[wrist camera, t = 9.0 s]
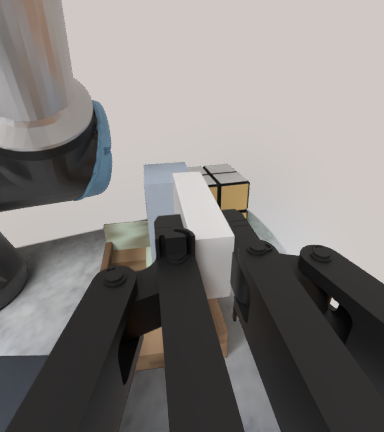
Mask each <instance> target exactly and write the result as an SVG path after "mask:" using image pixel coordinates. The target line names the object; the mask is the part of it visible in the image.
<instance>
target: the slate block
mask: <svg viewBox="0 0 384 432" xmlns="http://www.w3.org/2000/svg"><path fill="white" fill-rule="evenodd" d="M182 172H189V171H188V169H187V167H186V164H185V162H180V163H164V164H148V165H144V189H145V199H146V209H147V219H148V228H149V238H150V247H151V257H152V263H153V262H154V261H155V259H156V249H155V231H154V221H155V220H156V218H157V217H158V216H162V215H174V198H173V176H172V173H182Z"/></svg>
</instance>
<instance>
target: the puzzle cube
mask: <svg viewBox="0 0 384 432" xmlns="http://www.w3.org/2000/svg"><path fill="white" fill-rule="evenodd" d="M187 169H188V171H189V172H198V171H200V172H201V174H202V176H203V178H204V180H205V181H206V183H207V185H208V187H209V189H210V191H211V193H212V195H213V196H214V198H215V200H216V202H217V204H218V206H219V208H220V210H227V209H236V210H237V211H239V212H241V213H242V214H243V215H244V217H245V218H246V220H247V213H248V211H247V210H246V209H247V208H248V197H249V184H250V182H248V181H247V180H246V179H245V178H244V177H243V176H241V175H240V174H239V173H238V172H237V171H235V170H234V169H233V168H232V167H231V166H229V165H228V164H221V165H210V166H204V167H203V168H202V167H201V166H199V167H188V168H187Z"/></svg>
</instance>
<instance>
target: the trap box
mask: <svg viewBox="0 0 384 432" xmlns="http://www.w3.org/2000/svg"><path fill="white" fill-rule="evenodd" d="M104 233H105V238H106V246H105V250H104V255H103V260H102V264H101V269H100V272H101V271H102V270H104V269H106V268H109V267H112V266H126V267H129V268H131V269H133V270H134V272H138V271H141V270H143V269H145V268H147V267H149V266H150V265H151V264H152V257H151V247H150V238H149V228H148V220H146V221H135V222H124V223H113V224H104ZM208 303H209V306H210V310H211V314H212V317H213V321H214V324H215V328H216V331H217V335H218V339H219V342H220V346H221V349H222V353H223V356H224V357H227V347H228V329H227V326H226V323H225V320H224V317H223V314H222V311H221V308H220V305H219V302H218V299H217V298H213V299H208ZM160 367H165V364H164V351H163V338H162V327H160V328H158V329H155V330H153V331H151V332H149V333H146V334H144V339H143V343H142V346H141V350H140V354H139V357H138V361H137V365H136V368H135V371H140V370H147V369H153V368H160Z"/></svg>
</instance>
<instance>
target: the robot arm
mask: <svg viewBox="0 0 384 432" xmlns="http://www.w3.org/2000/svg"><path fill="white" fill-rule="evenodd" d="M110 149H111V137H110V130H109V125H108V120H107V117H106V114H105V111H104V109H103V107H102V105H101V104H100V103H99V102H97V101H94V100H91V97H90V95H89V93H88V91H87V90H86V89H85V87H84V86H83V85H82V84H81V83H80V82H79V81H77V80H76V79H75V78H73V74H72V67H71V61H70V54H69V48H68V41H67V35H66V28H65V21H64V16H63V8H62V2H61V0H0V212H3V211H9V210H14V209H20V208H26V207H33V206H39V205H46V204H52V203H59V202H65V201H72V200H74V201H76V200H81V199H83V198H84V197H90V196H94V195H98V194H101V193H102V192H104V191H105V190H106V188H107V187H108V185H109V182H110V179H111V172H112V154H111V151H110ZM172 176H173V198H174V215H162V216H158V217H157V218H156V220H155V221H154V231H155V249H156V259H155V261H154V262H153V263H152V264H151V265H150V266H149V267H147V268H145V269H143V270H141V271H138V272H134V270H133V269H131V268H129V267H126V266H112V267H109V268H106V269H104V270H102V271H101V272H99V273H98V274H97V275H96V276H95V277H94V279H93V280H92V282H91V284H90V285H89V287H88V289H87V291H86V292H85V294H84V296H83V298H82V299H81V301H80V303H79V304H78V306H77V308H76V310H75V311H74V313H73V315H72V317H71V318H70V320H69V322H68V323H67V325H66V327H65V329H64V330H63V332H62V334H61V335H60V337H59V339H58V341H57V342H56V344H55V346H54V348H53V349H52V351H51V353H50V354H49V356H48V358H47V360H46V361H45V363H44V365H43V367H42V368H41V370H40V372H39V373H38V375H37V377H36V379H35V380H34V382H33V384H32V386H31V387H30V389H29V391H28V392H27V394H26V396H25V398H24V399H23V401H22V403H21V405H20V406H19V408H18V410H17V411H16V413H15V415H14V417H13V418H12V420H11V422H10V424H9V425H8V427H7V429H6V430H5V432H118V431H119V427H120V423H121V420H122V416H123V412H124V409H125V405H126V401H127V398H128V394H129V390H130V387H131V383H132V379H133V376H134V372H135V368H136V365H137V361H138V357H139V354H140V350H141V346H142V343H143V339H144V334H146V333H149V332H151V331H153V330H155V329H158V328H160V327H162V338H163V351H164V364H165V377H166V390H167V403H168V416H169V429H170V432H245V431H244V428H243V424H242V421H241V417H240V414H239V410H238V406H237V403H236V399H235V396H234V392H233V389H232V385H231V381H230V378H229V374H228V371H227V367H226V364H225V360H224V356H223V353H222V349H221V346H220V342H219V339H218V335H217V331H216V328H215V324H214V321H213V317H212V314H211V310H210V306H209V303H208V299H213V298H221V297H229V296H230V293H231V286H232V289H233V291H234V307H233V322H234V321H236V317H237V315H238V318H239V320H240V323H241V326H242V328H243V331H244V334H245V336H246V339H247V342H248V344H249V347H250V350H251V352H252V355H253V358H254V360H255V363H256V366H257V368H258V371H259V374H260V377H261V379H262V382H263V385H264V387H265V390H266V393H267V395H268V398H269V401H270V403H271V406H272V409H273V411H274V414H275V417H276V419H277V422H278V425H279V427H280V430H281V432H384V284H383V283H382V282H380V281H378V280H377V279H376V278H374V277H373V276H371V275H370V274H368V273H367V272H365V271H364V270H362V269H361V268H360V267H358V266H357V265H355V264H354V263H352V262H350V261H349V260H348V259H346V258H345V257H343V256H342V255H340V254H339V253H337V252H336V251H334V250H332V249H330V248H328V247H325V246H321V245H308V246H305V247H303V248H302V249H301V251H300V255H299V256H296V255H286V254H280V253H279V252H278V251H277V250H276V248H275V247H274V246H273V245H272V244H270V243H268V242H266V241H262V240H260V239H259V238H258V236H257V235H256V233H255V232H254V230H253V229H252V227H251V226H250V224H249V223H248V221H247V220H246V218H245V217H244V215H243V214H242V213H241V212H239V211H237V210H236V209H227V210H220V208H219V206H218V204H217V202H216V200H215V198H214V196H213V195H212V193H211V191H210V189H209V187H208V185H207V183H206V181H205V180H204V178H203V176H202V174H201V172H200V171H198V172H182V173H172ZM27 276H28V272H27V268H26V265H25V263H24V260H23V258H22V256H21V254H20V253H19V252H18V251H17V250H16V249H15V248H14V247H13V245H12V244H11V243H10V242H9V241H8V240H7V239H6V238H5V237H4V236H3V235H2V233H1V232H0V309H1V308H3V307H4V306H5V305H6V304H8V303H9V302H10V301H11V300H12V299H13V298H14V297H15V296H16V295H17V294H18V293H19V292H20V291H21V289H22V288H23V286H24V285H25V283H26V280H27ZM331 298H333V299H334V300H335V301H337V302H338V303H339V306H338V308H334V307H333V306H332V305H331V304H330V301H331Z"/></svg>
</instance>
